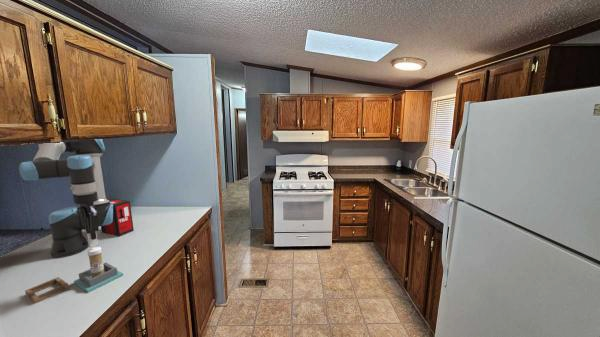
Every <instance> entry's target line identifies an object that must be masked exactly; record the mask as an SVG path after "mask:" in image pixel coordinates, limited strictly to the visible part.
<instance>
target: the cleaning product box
mask: <svg viewBox="0 0 600 337" xmlns="http://www.w3.org/2000/svg"><path fill="white" fill-rule="evenodd" d="M108 200H109V201H110V204H113V222H112V223H111V224H108V225H104V226H100V231H101V233H102V234H107V235H111V236H115V237H122V236H124V235H127V234H129V233H132V232H134V231H135V229H134V223H133V214H132V207H131V201H130V200H125V199H117V198H109V199H108Z"/></svg>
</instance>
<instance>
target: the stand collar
mask: <svg viewBox="0 0 600 337" xmlns="http://www.w3.org/2000/svg"><path fill="white" fill-rule="evenodd" d="M54 285H58V286H57V287H55V288H53V289H49V290H48V291H45V292H42V294H39V295H37V294H36V293H38V292H40V291H42V290H45V289H48V288H49V287H51V286H52V287H53V286H54ZM68 289H70V286H69V283H67V282H66V281H65V280H63V279H62V278H60V277H59V276H58V277H55V278H53V279H51V280H47V281H46V282H43V283H40V284H38V285H36V286H33V287H31V288H28V289H26V290H24V292H25V296H26V297H27V298H29V300H31V302H33V303H34V304H38V303H40V302H43V301H44V300H46V299H49V298H51V297H53V296H55V295H57V294H60V293H62V292H64V291H65V290H68Z"/></svg>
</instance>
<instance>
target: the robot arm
mask: <svg viewBox="0 0 600 337" xmlns="http://www.w3.org/2000/svg"><path fill="white" fill-rule="evenodd" d="M105 151H106V147H105V144H104V141H103V138H102V139H92V140H78V141H69V142H60V143H43V144H39V143H38V150H37V152H36V154H35V156H34V157H33V160H29V161H23V162H20V164H19V167H18V168H19V174H20V177H21V178H22V179H23V180H24V181H40V180H48V179H57V178H58V179H59V178H69V180H70V185H71V186H70V187H69V189H70V190H71V191H72V194H73V195H72V197H73V198H72V199H73V203H74V204H75V205H79V207H78V206H68V207H64V208H61V209H60V208H59V209H57V210H55V211H52V212H51V213H50V214H49V215H48V224H49V228H50V234H51V238H52V242H51V247H50V251H49V253H50V254H49V255H50V256H51V258H54V259H55V258H65V257H70V256H73V255H76V254H79V253H81V252H83V251H85V250H86V249H88V248H94V247H98V245H99V241H98V235H97V232H98V231H100V229H99V227H101V226H104V225H108V224H111V223H112V222H113V204H110V201H109V199H107V196H106V192H105V191H106V190H105V184H104V176H103V170H102V165H101V157H102V156H103V155H104V153H103V152H105ZM71 153H72V154H73V153H74V154H75V155H72V156H71V155H70V156H68V157H67V158H65V159H60V158H61V155H62V154H71ZM83 230H85V232H86V236H87V238H86V236H84V234H83Z"/></svg>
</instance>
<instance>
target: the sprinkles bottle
mask: <svg viewBox="0 0 600 337" xmlns="http://www.w3.org/2000/svg"><path fill="white" fill-rule="evenodd" d="M87 256H88V260H89V269H91V273H92V278H93V277H96V276H98V275H100V274H102V273H104V265H103V263H104V260H103V256H102V247H101V246H94V247H90V248H89V249H88V250H87Z"/></svg>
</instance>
